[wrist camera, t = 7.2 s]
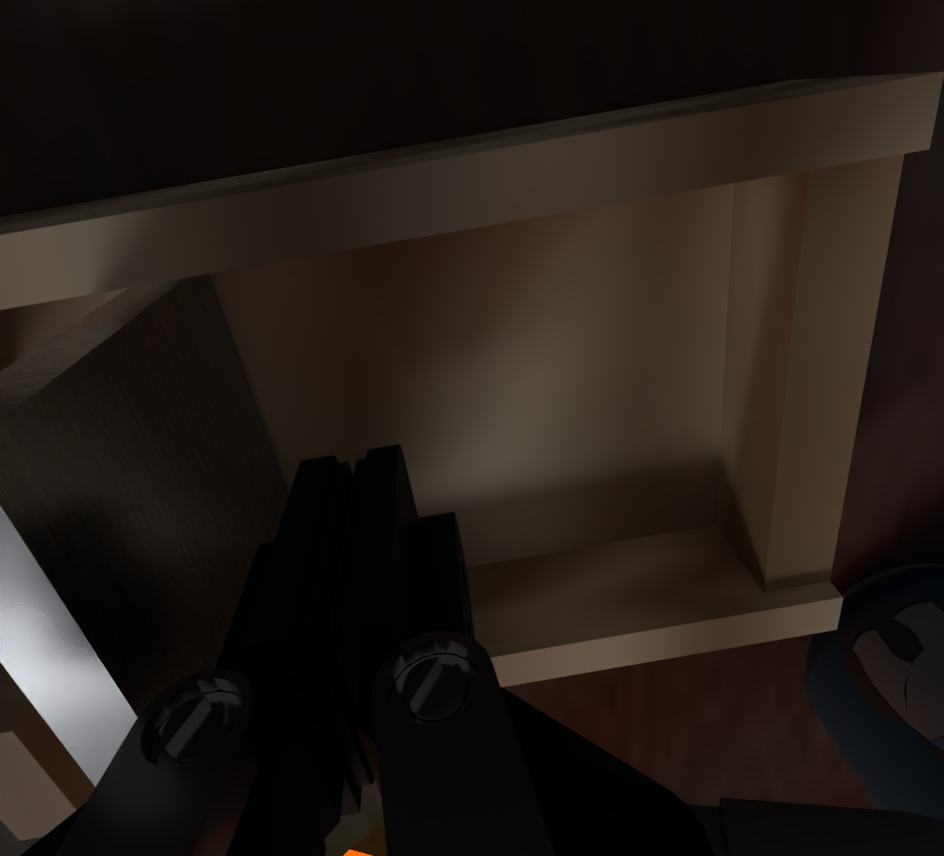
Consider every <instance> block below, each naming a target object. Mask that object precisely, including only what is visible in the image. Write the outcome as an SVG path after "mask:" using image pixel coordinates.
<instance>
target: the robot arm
mask: <svg viewBox="0 0 944 856" xmlns="http://www.w3.org/2000/svg"><path fill="white" fill-rule="evenodd" d="M374 778H375V780H376V783H377V786H378V788H379V791H380V794H381V797H382V807H383V817H384V827H385V837H386V847H387V856H944V822H943V821H941V820H939V819H936V818H932V817H928V816H924V815H920V814H915V813H911V812H904V811H890V810H877V809H864V808H851V807H838V806H825V805H812V804H799V803H786V802H772V801H759V800H746V799H733V798H720V804H719V807H717V806H705V805H692V804H686V803H685V802H683V801H682V800H681V799H680V798H678V797H677V796H676V795H675V794H674V793H672V792H671V791H670V790H669V789H667V788H665V787H664V786H662V785H660V784H659V783H657V782H656V781H654V780H652V779H651V778H649V777H647V776H646V775H644V774H643V773H641V772H639V771H638V770H636V769H634V768H633V767H631V766H629V765H628V764H626V763H625V762H623V761H621V760H620V759H618V758H616V757H615V756H613V755H612V754H610V753H608V752H607V751H605V750H603V749H602V748H600V747H598V746H597V745H595V744H594V743H592V742H590V741H589V740H587V739H585V738H584V737H582V736H581V735H579V734H577V733H576V732H574V731H572V730H571V729H569V728H567V727H566V726H564V725H563V724H561V723H559V722H558V721H556V720H554V719H553V718H551V717H550V716H548V715H546V714H545V713H543V712H541V711H540V710H538V709H536V708H535V707H533V706H532V705H530V704H528V703H527V702H525V701H523V700H522V699H520V698H519V697H517V696H515V695H514V694H512V693H510V692H509V691H507V690H505V689H504V688H502V687H501V686H500V684H499V681H498V678H497V675H496V672H495V669H494V666H493V663H492V660H491V659H490V657H489V655H488V653H487V651H486V650H485V648H484V647H483V646H482V645H481V644H479V643H478V642H477V641H476V640H475V638H474V628H473V619H472V610H471V600H470V592H469V584H468V577H467V571H466V565H465V559H464V553H463V548H462V543H461V538H460V532H459V527H458V523H457V518H456V514H455V512H449V513H443V514H437V515H431V516H425V517H419V518H418V513H417V509H416V505H415V501H414V497H413V492H412V488H411V484H410V480H409V475H408V471H407V467H406V463H405V458H404V454H403V450H402V448H401V445H400V444H397V445H391V446H385V447H379V448H373V449H368V450H367V453H366V458H364V459H358V460H356V463H355V469H354V475H353V472H352V469H351V466H350V464H349V462H348V461H346V462H340V463H339V462H338V460H337V458H336V456H334V455H331V456H325V457H319V458H313V459H307V460H302V461H300V463H299V466H298V469H297V472H296V475H295V478H294V481H293V484H292V487H291V491H290V494H289V497H288V500H287V503H286V506H285V509H284V512H283V515H282V518H281V521H280V524H279V528H278V531H277V534H276V537H275V540H274V542H270V543H265V544H262V545H261V546H259V548H258V550H257V552H256V554H255V557H254V560H253V563H252V566H251V568H250V571H249V574H248V577H247V580H246V582H245V585H244V588H243V591H242V594H241V596H240V599H239V602H238V605H237V608H236V610H235V613H234V616H233V619H232V622H231V624H230V627H229V630H228V633H227V636H226V638H225V641H224V644H223V647H222V650H221V653H220V655H219V658H218V661H217V664H216V667H215V669H209V670H203V671H199V672H197V673H194V674H192V675H190V676H187V677H185V678H182V679H181V680H179V681H177V682H176V683H174V684H173V685H171V686H169V687H168V688H166V689H165V690H163V691H162V692H161V693H160V694H159V695H158V696H157V697H156V698H155V699H154V700H152V701H151V702H150V703H149V704H148V705H147V706H146V708H145V709H144V710H143V712H142V713H141V714H140V716H139V717H138V718H137V720H136V721H135V723H134V724H133V726H132V728H131V729H130V731H129V732H128V734H127V736H126V737H125V739H124V741H123V742H122V744H121V746H120V747H119V749H118V751H117V752H116V754H115V756H114V757H113V759H112V761H111V762H110V764H109V766H108V767H107V769H106V771H105V772H104V774H103V776H102V777H101V779H100V781H99V782H98V784H97V786H96V787H95V789H94V790H93V792H92V794H91V795H90V797H89V799H88V800H87V802H86V803H85V804H84V805H82V806H81V807H80V808H79V809H77V810H76V811H75V812H74V813H72V814H71V815H70V816H69V817H68V818H66V819H65V820H64V821H63V822H61V823H60V824H59V825H58V826H56V827H55V828H54V829H53V830H51V831H50V832H49V833H48V834H46V835H45V836H44V837H43V838H41V839H40V840H39V841H38V842H36V843H35V844H34V845H33V846H31V847H30V848H29V849H28V850H26V851H25V852H24V853H23V854H22V855H20V856H325V853H326V845H325V840H324V839H325V838H326V837H327V835H328V834H329V833H330V832H331V831H332V830H333V829H334V828H335V827H336V826H337V825H338V823H339V822H340V816H342V815H348V814H354V813H360V805H361V792H362V786H367V785H372V784H373V782H374Z"/></svg>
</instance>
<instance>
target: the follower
mask: <svg viewBox="0 0 944 856" xmlns="http://www.w3.org/2000/svg"><path fill="white" fill-rule="evenodd" d="M288 497H289V493H288V490H287V487H286V484H285V481H284V479H283V476H282V473H281V470H280V468H279V465H278V462H277V459H276V456H275V454H274V451H273V448H272V445H271V443H270V440H269V437H268V434H267V432H266V429H265V426H264V423H263V420H262V418H261V415H260V412H259V409H258V407H257V404H256V401H255V398H254V395H253V393H252V390H251V387H250V384H249V382H248V379H247V376H246V373H245V371H244V368H243V365H242V362H241V359H240V357H239V354H238V351H237V348H236V346H235V343H234V340H233V337H232V334H231V332H230V329H229V326H228V323H227V321H226V318H225V315H224V312H223V310H222V307H221V304H220V301H219V298H218V296H217V293H216V290H215V287H214V285H213V282H212V279H211V276H210V274H205V275H200V276H194V277H188V278H182V279H177V280H171V281H165V282H159V283H153V284H148V285H142V286H136V287H130V288H128V289H126V290H125V291H123V292H122V293H120V294H119V295H117V296H116V297H114V298H113V299H111V300H110V301H108V302H106V303H105V304H103V305H102V306H100V307H99V308H97V309H96V310H94V311H93V312H91V313H89V314H88V315H86V316H85V317H83V318H82V319H80V320H79V321H77V322H76V323H74V324H73V325H71V326H69V327H68V328H66V329H65V330H63V331H62V332H60V333H59V334H57V335H56V336H54V337H52V338H51V339H49V340H48V341H46V342H45V343H43V344H42V345H40V346H39V347H37V348H36V349H34V350H32V351H31V352H29V353H28V354H26V355H25V356H23V357H22V358H20V359H19V360H17V361H15V362H14V363H12V364H11V365H9V366H8V367H6V368H5V369H3V370H2V371H0V662H1V664H2V665H3V666H4V668H5V669H6V670H7V672H8V673H9V674H10V676H11V677H12V678H13V679H14V681H15V682H16V683H17V685H18V686H19V687H20V689H21V690H22V691H23V693H24V694H25V695H26V697H27V698H28V699H29V700H30V702H31V703H32V704H33V706H34V707H35V708H36V710H37V711H38V712H39V714H40V715H41V716H42V718H43V719H44V720H45V721H46V723H47V724H48V725H49V727H50V728H51V729H52V731H53V732H54V733H55V735H56V736H57V737H58V739H59V740H60V741H61V742H62V744H63V745H64V746H65V748H66V749H67V750H68V752H69V753H70V754H71V756H72V757H73V758H74V759H75V761H76V762H77V763H78V765H79V766H80V767H81V769H82V770H83V771H84V773H85V774H86V775H87V777H88V778H89V779H90V780H91V782H92V783H93V784H94V786H95V787H96V786H97V784H98V782H99V781H100V779H101V777H102V776H103V774H104V772H105V771H106V769H107V767H108V766H109V764H110V762H111V761H112V759H113V757H114V756H115V754H116V752H117V751H118V749H119V747H120V746H121V744H122V742H123V741H124V739H125V737H126V736H127V734H128V732H129V731H130V729H131V728H132V726H133V724H134V723H135V721H136V720H137V718H138V717H139V716H140V714H141V713H142V712H143V710H144V709H145V708H146V706H147V705H148V704H149V703H150V702H151V701H152V700H154V699H155V698H156V697H157V696H158V695H159V694H160V693H161V692H162V691H163V690H165V689H166V688H168V687H169V686H171V685H173V684H174V683H176V682H177V681H179V680H181V679H182V678H185V677H187V676H190V675H192V674H194V673H197V672H199V671H203V670H209V669H215V667H216V664H217V661H218V658H219V655H220V653H221V650H222V647H223V644H224V641H225V638H226V636H227V633H228V630H229V627H230V624H231V622H232V619H233V616H234V613H235V610H236V608H237V605H238V602H239V599H240V596H241V594H242V591H243V588H244V585H245V582H246V580H247V577H248V574H249V571H250V568H251V566H252V563H253V560H254V557H255V554H256V552H257V550H258V548H259V546H261V545H262V544H265V543H270V542H274V540H275V537H276V534H277V531H278V528H279V524H280V521H281V518H282V515H283V512H284V509H285V506H286V503H287V500H288Z"/></svg>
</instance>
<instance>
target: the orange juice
mask: <svg viewBox="0 0 944 856" xmlns="http://www.w3.org/2000/svg"><path fill="white" fill-rule="evenodd" d="M344 856H371V855H368V854H364V853H360V852H357V851H353V850H349V851H348V852H347V853H346V854H345V855H344Z"/></svg>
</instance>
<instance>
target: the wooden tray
mask: <svg viewBox="0 0 944 856" xmlns="http://www.w3.org/2000/svg"><path fill="white" fill-rule="evenodd" d="M943 77H944V72H927V73H909V74H892V75H874V76H856V77H838V78H820V79H802V80H788V81H782V82H777V83H771V84H765V85H759V86H754V87H748V88H742V89H736V90H731V91H725V92H719V93H713V94H707V95H702V96H696V97H690V98H684V99H679V100H673V101H667V102H661V103H656V104H650V105H644V106H638V107H632V108H627V109H621V110H615V111H609V112H604V113H598V114H592V115H586V116H581V117H575V118H569V119H563V120H557V121H552V122H546V123H540V124H534V125H529V126H523V127H517V128H511V129H505V130H500V131H494V132H488V133H482V134H477V135H471V136H465V137H459V138H454V139H448V140H442V141H436V142H430V143H425V144H419V145H413V146H407V147H402V148H396V149H390V150H384V151H379V152H373V153H367V154H361V155H355V156H350V157H344V158H338V159H332V160H327V161H321V162H315V163H309V164H304V165H298V166H292V167H286V168H280V169H275V170H269V171H263V172H257V173H252V174H246V175H240V176H234V177H228V178H223V179H217V180H211V181H205V182H200V183H194V184H188V185H182V186H177V187H171V188H165V189H159V190H153V191H148V192H142V193H136V194H130V195H125V196H119V197H113V198H107V199H102V200H96V201H90V202H84V203H78V204H73V205H67V206H61V207H55V208H50V209H44V210H38V211H32V212H27V213H21V214H15V215H9V216H3V217H0V371H2V370H3V369H5V368H6V367H8V366H9V365H11V364H12V363H14V362H15V361H17V360H19V359H20V358H22V357H23V356H25V355H26V354H28V353H29V352H31V351H32V350H34V349H36V348H37V347H39V346H40V345H42V344H43V343H45V342H46V341H48V340H49V339H51V338H52V337H54V336H56V335H57V334H59V333H60V332H62V331H63V330H65V329H66V328H68V327H69V326H71V325H73V324H74V323H76V322H77V321H79V320H80V319H82V318H83V317H85V316H86V315H88V314H89V313H91V312H93V311H94V310H96V309H97V308H99V307H100V306H102V305H103V304H105V303H106V302H108V301H110V300H111V299H113V298H114V297H116V296H117V295H119V294H120V293H122V292H123V291H125V290H126V289H128V288H130V287H136V286H142V285H148V284H153V283H159V282H165V281H171V280H177V279H182V278H188V277H194V276H200V275H205V274H210V276H211V279H212V282H213V285H214V287H215V290H216V293H217V296H218V298H219V301H220V304H221V307H222V310H223V312H224V315H225V318H226V321H227V323H228V326H229V329H230V332H231V334H232V337H233V340H234V343H235V346H236V348H237V351H238V354H239V357H240V359H241V362H242V365H243V368H244V371H245V373H246V376H247V379H248V382H249V384H250V387H251V390H252V393H253V395H254V398H255V401H256V404H257V407H258V409H259V412H260V415H261V418H262V420H263V423H264V426H265V429H266V432H267V434H268V437H269V440H270V443H271V445H272V448H273V451H274V454H275V456H276V459H277V462H278V465H279V468H280V470H281V473H282V476H283V479H284V481H285V484H286V487H287V490H288V493H289V494H290V491H291V487H292V484H293V481H294V478H295V475H296V472H297V469H298V466H299V463H300V461H302V460H307V459H313V458H319V457H325V456H331V455H334V456H336V458H337V460H338V462H339V463H340V462H346V461H348V462H349V464H350V466H351V469H352V472H353V475H354V469H355V463H356V460H358V459H364V458H366V453H367V450H368V449H373V448H379V447H385V446H391V445H397V444H400V445H401V448H402V450H403V454H404V458H405V463H406V467H407V471H408V475H409V480H410V484H411V488H412V492H413V497H414V501H415V505H416V509H417V513H418V518H419V517H425V516H431V515H437V514H443V513H449V512H455V514H456V518H457V523H458V527H459V532H460V538H461V543H462V548H463V553H464V559H465V565H466V571H467V577H468V584H469V592H470V600H471V610H472V619H473V628H474V638H475V640H476V641H477V642H478V643H479V644H481V645H482V646H483V647H484V648H485V650H486V651H487V653H488V655H489V657H490V659H491V660H492V663H493V666H494V669H495V672H496V675H497V678H498V681H499V684H500V686H501V687H505V686H511V685H517V684H523V683H529V682H534V681H540V680H546V679H552V678H558V677H564V676H569V675H575V674H581V673H587V672H593V671H599V670H605V669H610V668H616V667H622V666H628V665H634V664H640V663H645V662H651V661H657V660H663V659H669V658H675V657H680V656H686V655H692V654H698V653H704V652H710V651H716V650H721V649H727V648H733V647H739V646H745V645H751V644H756V643H762V642H768V641H774V640H780V639H786V638H791V637H797V636H803V635H809V634H815V633H821V632H827V631H832V630H837V628H838V623H839V617H840V612H841V607H842V602H843V596H842V595H841V594H840V593H839V592H838V590H837V589H836V588H835V587H834V586H833V585H832V583H831V582H830V577H831V571H832V566H833V560H834V554H835V548H836V543H837V537H838V531H839V525H840V520H841V514H842V508H843V503H844V497H845V491H846V485H847V480H848V474H849V468H850V463H851V457H852V451H853V445H854V440H855V434H856V428H857V422H858V417H859V411H860V405H861V400H862V394H863V388H864V382H865V377H866V371H867V365H868V360H869V354H870V348H871V342H872V337H873V331H874V325H875V319H876V314H877V308H878V302H879V297H880V291H881V285H882V279H883V274H884V268H885V262H886V257H887V251H888V245H889V239H890V234H891V228H892V222H893V217H894V211H895V205H896V199H897V194H898V188H899V182H900V176H901V171H902V165H903V159H904V154H905V153H911V152H917V151H923V150H928V149H930V144H931V139H932V134H933V129H934V124H935V118H936V113H937V108H938V103H939V98H940V92H941V87H942V82H943ZM94 789H95V786H94V784H93V783H92V782H91V780H90V779H89V778H88V777H87V775H86V774H85V773H84V771H83V770H82V769H81V767H80V766H79V765H78V763H77V762H76V761H75V759H74V758H73V757H72V756H71V754H70V753H69V752H68V750H67V749H66V748H65V746H64V745H63V744H62V742H61V741H60V740H59V739H58V737H57V736H56V735H55V733H54V732H53V731H52V729H51V728H50V727H49V725H48V724H47V723H46V721H45V720H44V719H43V718H42V716H41V715H40V714H39V712H38V711H37V710H36V708H35V707H34V706H33V704H32V703H31V702H30V700H29V699H28V698H27V697H26V695H25V694H24V693H23V691H22V690H21V689H20V687H19V686H18V685H17V683H16V682H15V681H14V679H13V678H12V677H11V676H10V674H9V673H8V672H7V670H6V669H5V668H4V666H3V665H2V664H1V662H0V820H1V821H2V822H3V823H4V824H5V825H6V826H7V827H8V828H9V829H10V831H11V832H12V833H13V834H14V835H15V836H16V837H17V838H18V839H19V840H20V841H21V840H27V839H32V838H38V837H44V836H45V835H46V834H48V833H49V832H50V831H51V830H53V829H54V828H55V827H56V826H58V825H59V824H60V823H61V822H63V821H64V820H65V819H66V818H68V817H69V816H70V815H71V814H72V813H74V812H75V811H76V810H77V809H79V808H80V807H81V806H82V805H84V804H85V803H86V802H87V800H88V799H89V797H90V795H91V794H92V792H93V790H94Z"/></svg>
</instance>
